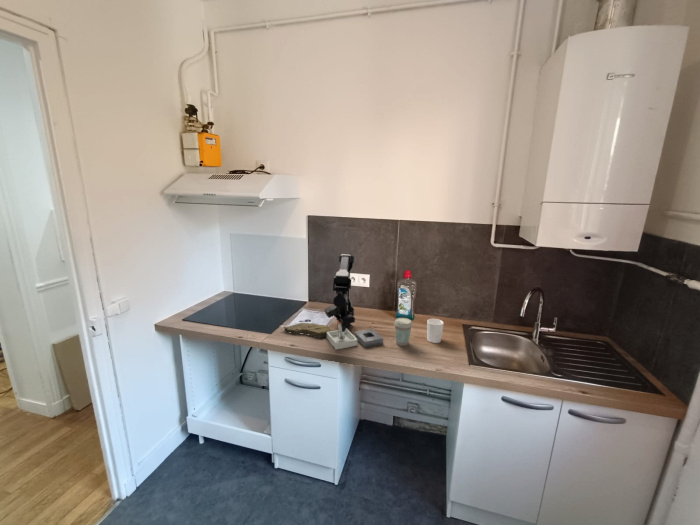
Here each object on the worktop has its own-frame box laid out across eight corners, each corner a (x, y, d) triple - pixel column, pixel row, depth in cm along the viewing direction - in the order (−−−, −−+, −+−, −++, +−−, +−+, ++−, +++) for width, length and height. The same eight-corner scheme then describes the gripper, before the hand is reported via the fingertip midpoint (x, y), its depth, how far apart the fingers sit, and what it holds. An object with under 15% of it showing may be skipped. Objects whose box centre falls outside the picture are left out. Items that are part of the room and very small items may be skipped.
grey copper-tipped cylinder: (335, 336, 153) (335, 319, 151) (344, 335, 155) (344, 318, 153) (339, 340, 149) (339, 322, 147) (347, 339, 151) (347, 321, 149)
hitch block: (354, 337, 157) (354, 331, 157) (371, 333, 161) (372, 328, 161) (364, 347, 147) (365, 341, 146) (383, 343, 151) (383, 338, 150)
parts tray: (326, 337, 156) (326, 332, 156) (346, 334, 161) (346, 328, 160) (335, 349, 144) (335, 343, 144) (357, 345, 149) (357, 339, 148)
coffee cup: (390, 340, 154) (391, 318, 151) (405, 338, 157) (406, 316, 154) (398, 348, 146) (400, 325, 143) (414, 346, 149) (415, 322, 146)
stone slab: (335, 328, 166) (334, 320, 164) (329, 342, 155) (328, 334, 153) (289, 325, 172) (288, 318, 170) (280, 338, 161) (279, 330, 159)
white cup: (431, 344, 150) (432, 325, 148) (423, 337, 158) (424, 319, 156) (445, 342, 153) (446, 324, 150) (436, 335, 160) (438, 318, 158)
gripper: (320, 296, 153) (320, 325, 156) (332, 308, 136) (332, 341, 140) (340, 293, 157) (340, 321, 161) (355, 305, 141) (355, 336, 144)
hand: (341, 329), depth 151 cm, fingers closed on grey copper-tipped cylinder, 4 cm apart
